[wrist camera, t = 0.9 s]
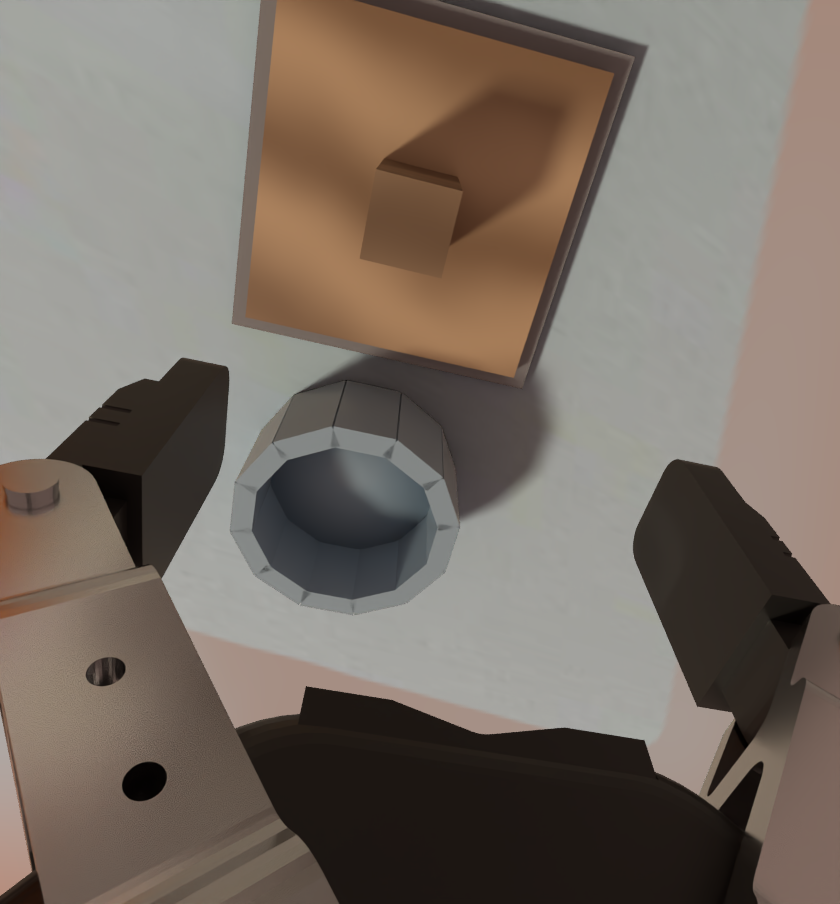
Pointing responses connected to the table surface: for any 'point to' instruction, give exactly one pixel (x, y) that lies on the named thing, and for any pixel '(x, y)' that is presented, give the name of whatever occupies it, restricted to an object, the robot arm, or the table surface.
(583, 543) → the table surface
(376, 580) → the bowl
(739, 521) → the robot arm
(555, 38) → the mat
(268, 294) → the lid
